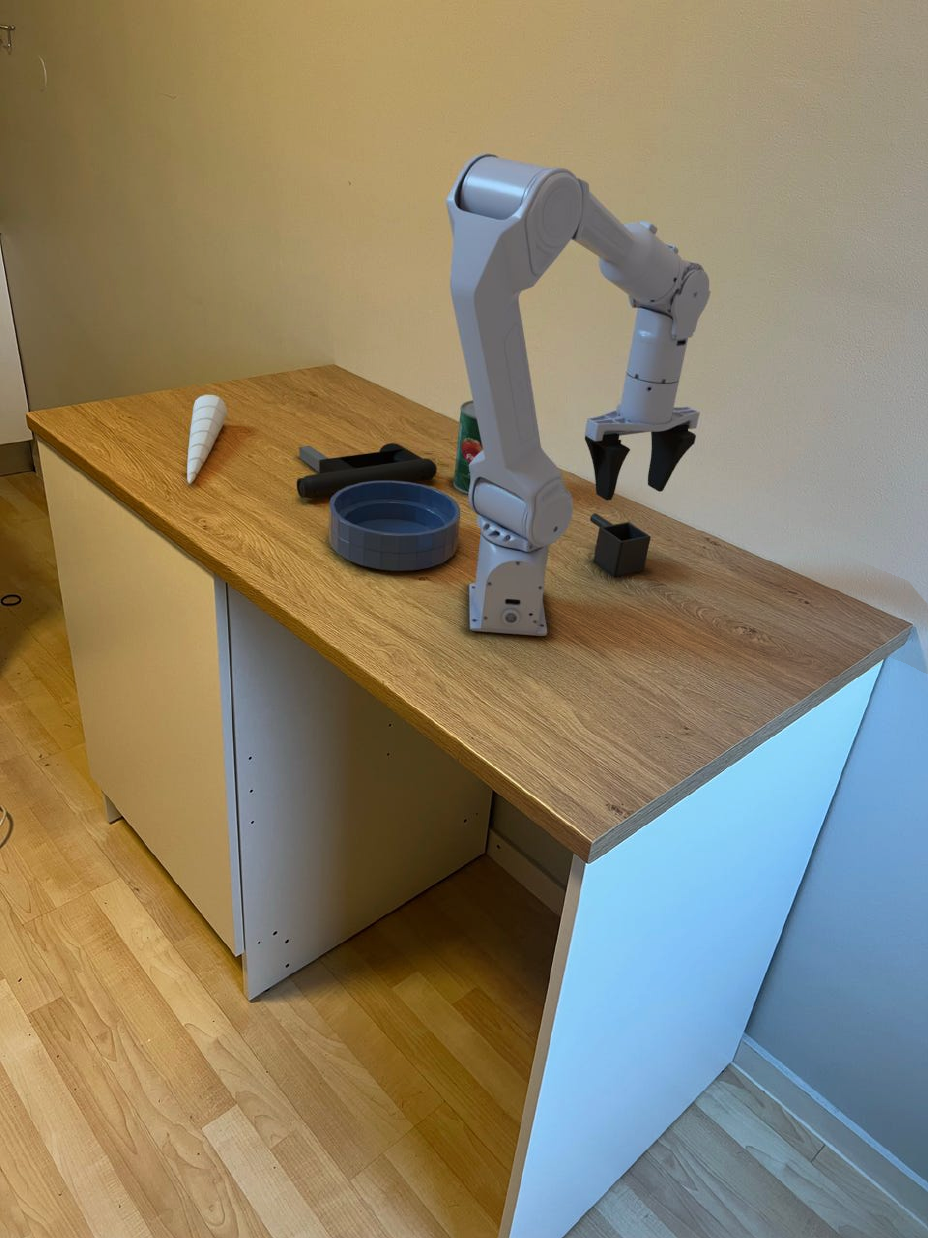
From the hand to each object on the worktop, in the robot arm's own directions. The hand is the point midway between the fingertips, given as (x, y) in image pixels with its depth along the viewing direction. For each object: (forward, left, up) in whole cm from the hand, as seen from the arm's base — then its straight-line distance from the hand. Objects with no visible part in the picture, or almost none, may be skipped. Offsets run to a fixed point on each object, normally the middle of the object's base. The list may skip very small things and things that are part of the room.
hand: (629, 492), depth 107 cm
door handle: (+21, +34, -10) cm, 41 cm away
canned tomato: (+21, +16, -10) cm, 28 cm away
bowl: (+1, +27, -9) cm, 28 cm away
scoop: (+1, +1, -9) cm, 10 cm away
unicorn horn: (+25, +55, -10) cm, 61 cm away
